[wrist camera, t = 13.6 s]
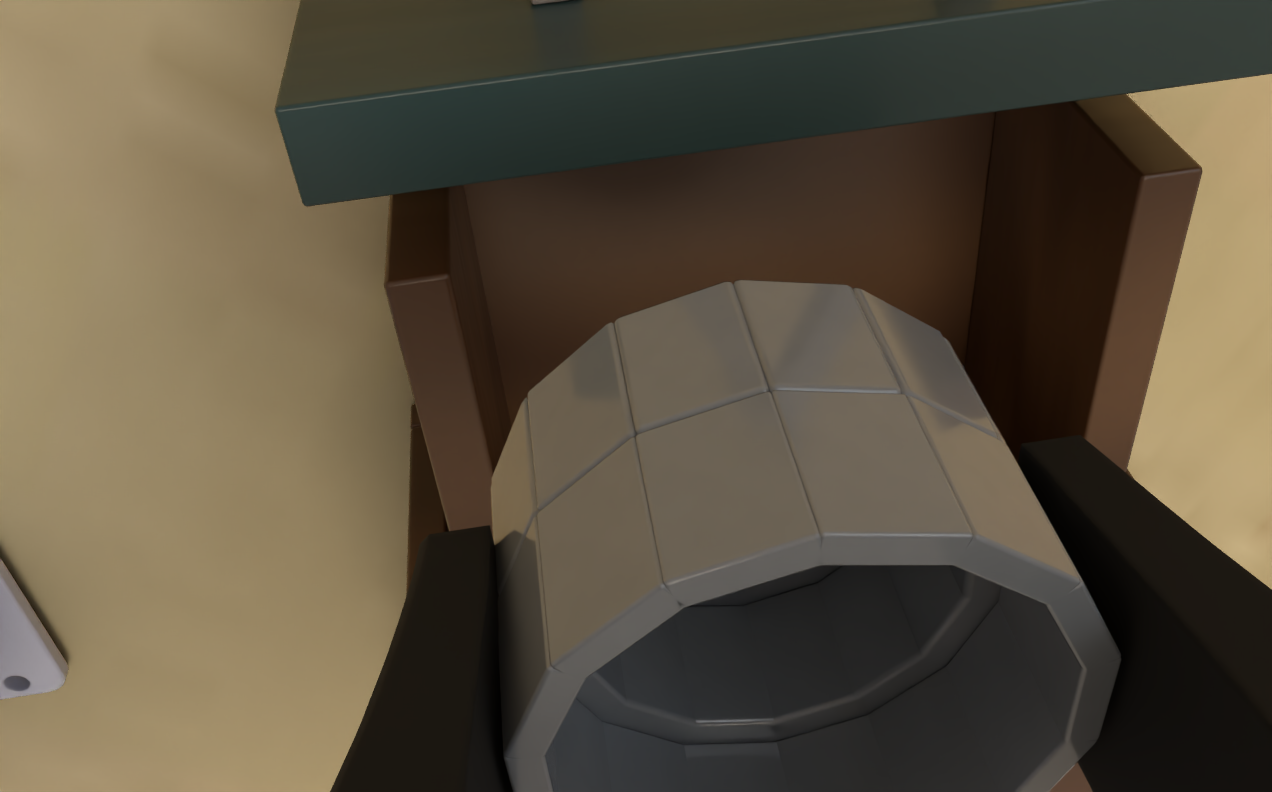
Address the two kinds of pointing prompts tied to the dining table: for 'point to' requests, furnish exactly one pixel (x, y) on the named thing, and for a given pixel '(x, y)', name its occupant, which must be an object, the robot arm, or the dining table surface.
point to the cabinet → (431, 520)
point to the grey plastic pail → (782, 564)
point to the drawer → (763, 181)
